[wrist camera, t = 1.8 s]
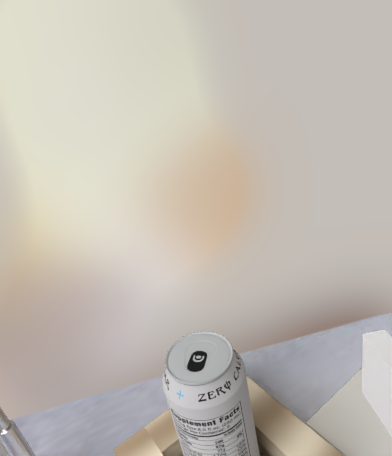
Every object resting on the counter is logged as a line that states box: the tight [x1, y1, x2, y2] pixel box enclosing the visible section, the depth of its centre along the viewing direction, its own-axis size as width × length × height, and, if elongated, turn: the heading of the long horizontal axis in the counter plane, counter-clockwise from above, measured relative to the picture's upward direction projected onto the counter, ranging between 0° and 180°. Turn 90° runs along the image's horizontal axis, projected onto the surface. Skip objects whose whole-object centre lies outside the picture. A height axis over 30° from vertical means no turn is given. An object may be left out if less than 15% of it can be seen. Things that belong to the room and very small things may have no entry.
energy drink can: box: [162, 331, 260, 456], centre depth 27 cm, size 6×6×15 cm
